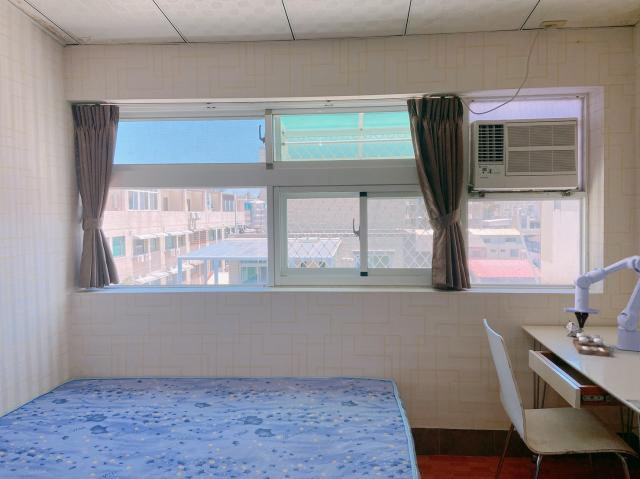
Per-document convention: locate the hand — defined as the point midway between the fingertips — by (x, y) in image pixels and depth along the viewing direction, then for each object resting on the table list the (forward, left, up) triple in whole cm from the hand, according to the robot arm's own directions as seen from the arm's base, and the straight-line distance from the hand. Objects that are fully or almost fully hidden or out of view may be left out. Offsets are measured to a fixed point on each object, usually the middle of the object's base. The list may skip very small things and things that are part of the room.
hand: (581, 327), depth 213 cm
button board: (-3, +7, -8) cm, 11 cm away
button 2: (-6, 0, -5) cm, 8 cm away
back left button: (0, 0, -5) cm, 5 cm away
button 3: (-6, +7, -5) cm, 10 cm away
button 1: (0, +7, -5) cm, 9 cm away
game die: (+1, -15, -9) cm, 18 cm away
